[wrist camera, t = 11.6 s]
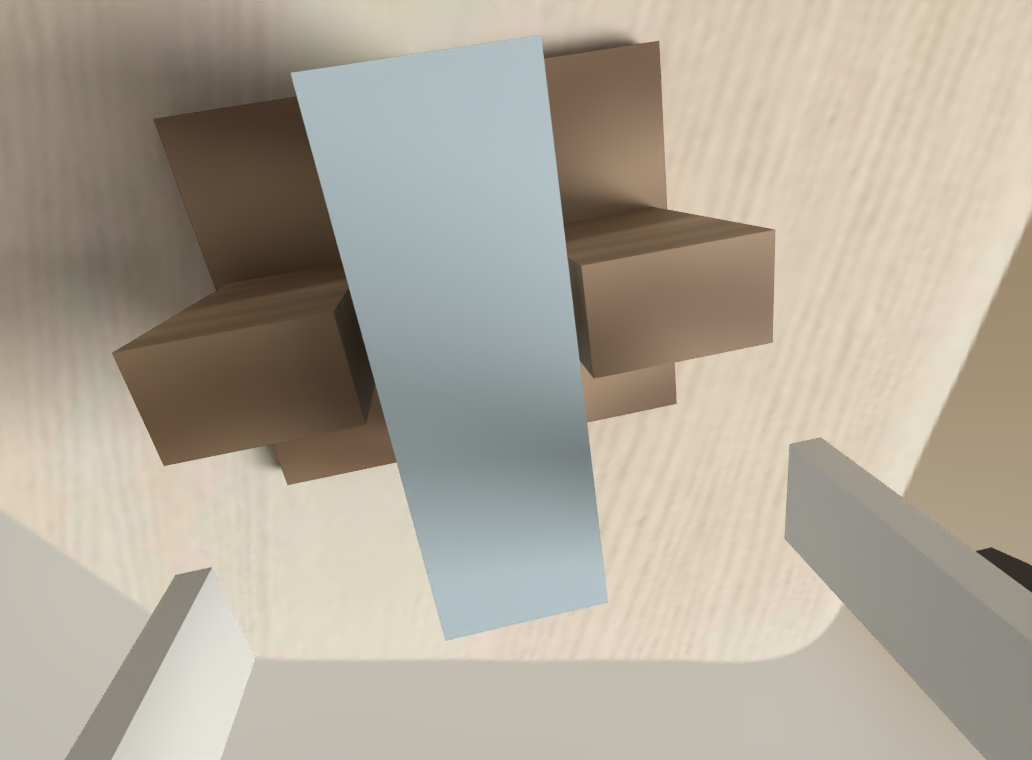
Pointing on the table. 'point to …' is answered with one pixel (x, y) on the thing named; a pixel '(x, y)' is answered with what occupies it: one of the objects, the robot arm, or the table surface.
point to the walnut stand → (329, 306)
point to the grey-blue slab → (466, 318)
